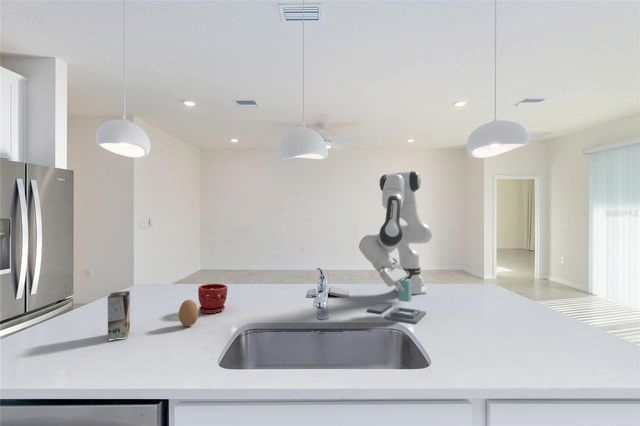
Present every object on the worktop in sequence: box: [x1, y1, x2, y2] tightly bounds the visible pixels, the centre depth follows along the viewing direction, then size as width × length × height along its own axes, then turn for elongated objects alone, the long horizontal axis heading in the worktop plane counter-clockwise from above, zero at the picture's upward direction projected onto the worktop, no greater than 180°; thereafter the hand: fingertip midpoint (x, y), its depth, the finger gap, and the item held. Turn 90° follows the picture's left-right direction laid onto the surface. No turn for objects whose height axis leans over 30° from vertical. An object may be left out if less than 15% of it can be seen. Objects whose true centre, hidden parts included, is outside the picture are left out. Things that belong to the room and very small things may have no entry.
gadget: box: [307, 285, 350, 299], centre depth 195 cm, size 23×15×4 cm, turn 88°
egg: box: [178, 299, 199, 327], centre depth 142 cm, size 8×8×11 cm
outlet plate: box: [383, 306, 427, 325], centre depth 153 cm, size 16×14×2 cm
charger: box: [398, 278, 413, 303], centre depth 153 cm, size 4×4×9 cm
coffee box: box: [107, 290, 131, 340], centre depth 130 cm, size 9×6×16 cm
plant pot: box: [197, 283, 228, 314], centre depth 163 cm, size 13×13×12 cm
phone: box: [366, 302, 393, 315], centre depth 165 cm, size 7×14×1 cm, turn 149°
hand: (406, 289), depth 153 cm, fingers closed on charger, 4 cm apart
